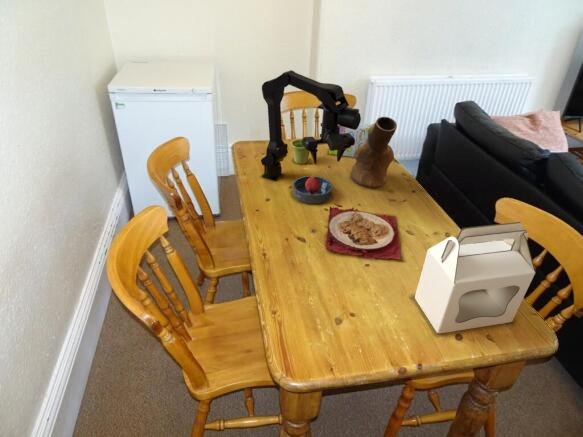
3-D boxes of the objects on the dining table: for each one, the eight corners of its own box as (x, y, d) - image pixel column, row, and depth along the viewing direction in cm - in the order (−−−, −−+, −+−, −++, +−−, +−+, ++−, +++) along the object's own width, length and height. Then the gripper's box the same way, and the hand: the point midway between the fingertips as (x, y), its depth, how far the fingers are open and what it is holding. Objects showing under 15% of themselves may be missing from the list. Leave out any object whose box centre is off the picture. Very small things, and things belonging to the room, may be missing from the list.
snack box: (374, 155, 192) (379, 124, 184) (373, 160, 188) (378, 129, 180) (329, 149, 196) (332, 119, 188) (328, 154, 192) (330, 123, 183)
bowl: (285, 197, 158) (285, 188, 156) (304, 181, 169) (304, 172, 167) (320, 208, 152) (321, 199, 150) (337, 191, 163) (338, 182, 161)
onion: (303, 189, 163) (304, 171, 158) (318, 189, 163) (319, 171, 159) (305, 197, 158) (306, 179, 153) (320, 197, 158) (321, 178, 154)
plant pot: (311, 166, 181) (312, 148, 176) (290, 165, 181) (290, 147, 176) (311, 157, 189) (312, 139, 184) (290, 156, 189) (291, 138, 184)
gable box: (436, 334, 104) (466, 247, 89) (413, 297, 115) (435, 214, 99) (513, 322, 109) (554, 237, 93) (483, 288, 119) (516, 206, 104)
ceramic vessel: (383, 171, 179) (395, 103, 162) (395, 197, 161) (410, 124, 144) (347, 171, 178) (355, 102, 161) (355, 196, 160) (365, 123, 143)
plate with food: (324, 254, 130) (325, 245, 128) (329, 209, 151) (330, 201, 149) (400, 263, 128) (402, 255, 126) (394, 216, 149) (396, 208, 147)
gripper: (313, 133, 135) (310, 175, 144) (364, 128, 141) (358, 169, 149) (302, 121, 144) (300, 161, 153) (350, 117, 149) (345, 156, 158)
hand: (326, 162), depth 153 cm, fingers open, 9 cm apart
